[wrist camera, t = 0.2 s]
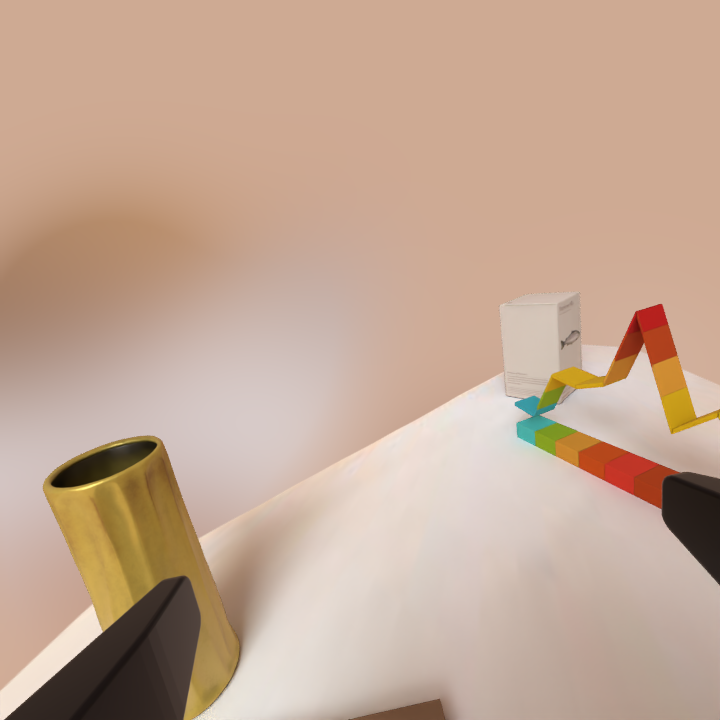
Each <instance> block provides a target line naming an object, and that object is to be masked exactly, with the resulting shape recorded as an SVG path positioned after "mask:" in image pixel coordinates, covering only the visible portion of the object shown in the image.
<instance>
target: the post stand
mask: <svg viewBox="0 0 720 720" xmlns="http://www.w3.org/2000/svg"><path fill="white" fill-rule="evenodd" d="M349 720H445V717H444V713H443V709H442V706H441V702H440V699H437V700H433V701H429V702H424V703H420V704H415V705H411V706H407V707H402V708H398V709H393V710H389V711H385V712H380V713H376V714H371V715H367V716H363V717H358V718H354V719H349Z"/></svg>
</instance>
